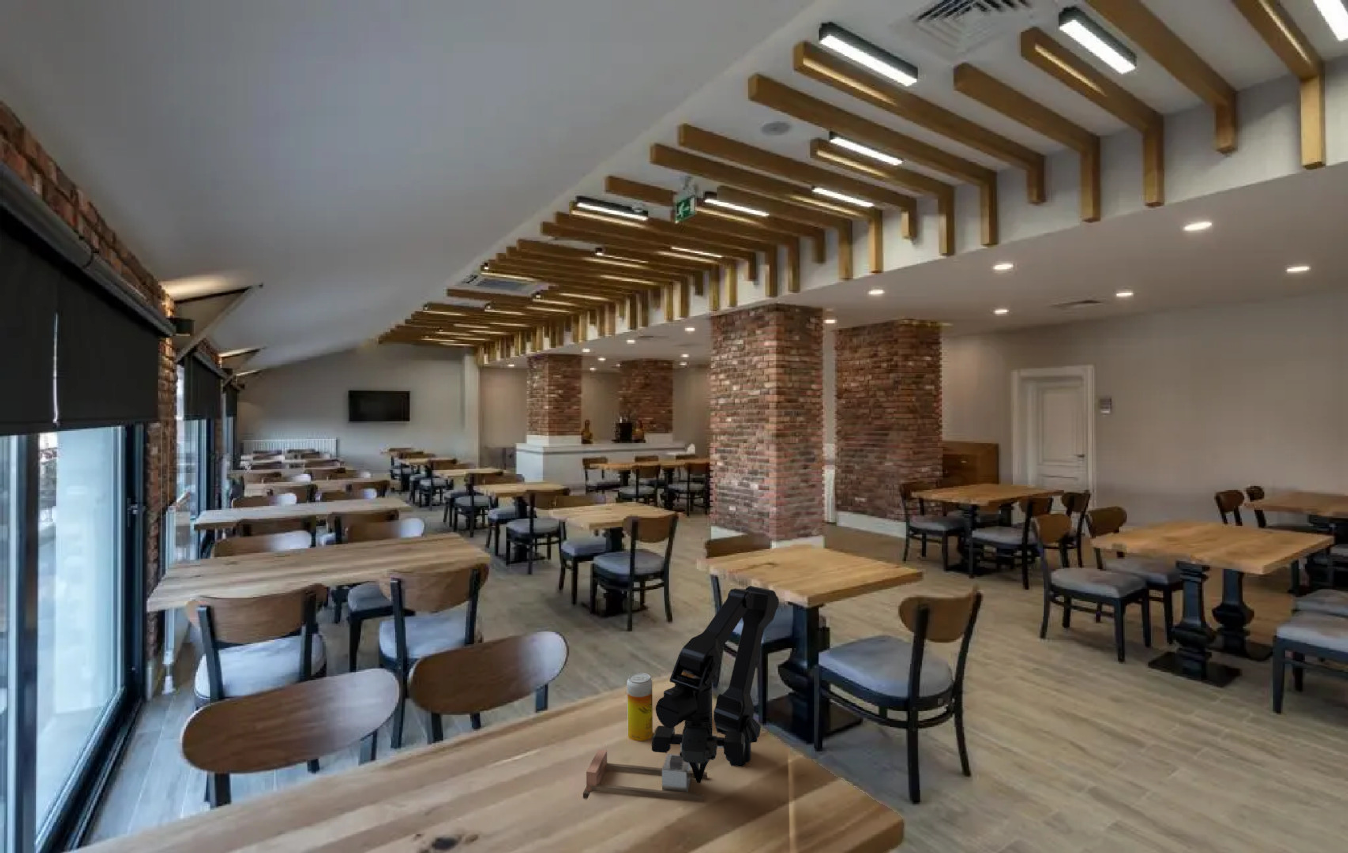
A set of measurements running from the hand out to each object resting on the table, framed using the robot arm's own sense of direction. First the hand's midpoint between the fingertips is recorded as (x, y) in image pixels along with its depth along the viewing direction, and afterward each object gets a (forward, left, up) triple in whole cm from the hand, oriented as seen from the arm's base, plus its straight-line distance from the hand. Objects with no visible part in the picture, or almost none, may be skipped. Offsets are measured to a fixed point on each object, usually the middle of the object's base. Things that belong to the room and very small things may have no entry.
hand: (698, 782), depth 129 cm
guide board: (0, -11, -2) cm, 11 cm away
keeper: (0, -5, -1) cm, 5 cm away
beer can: (-19, -17, -3) cm, 26 cm away
